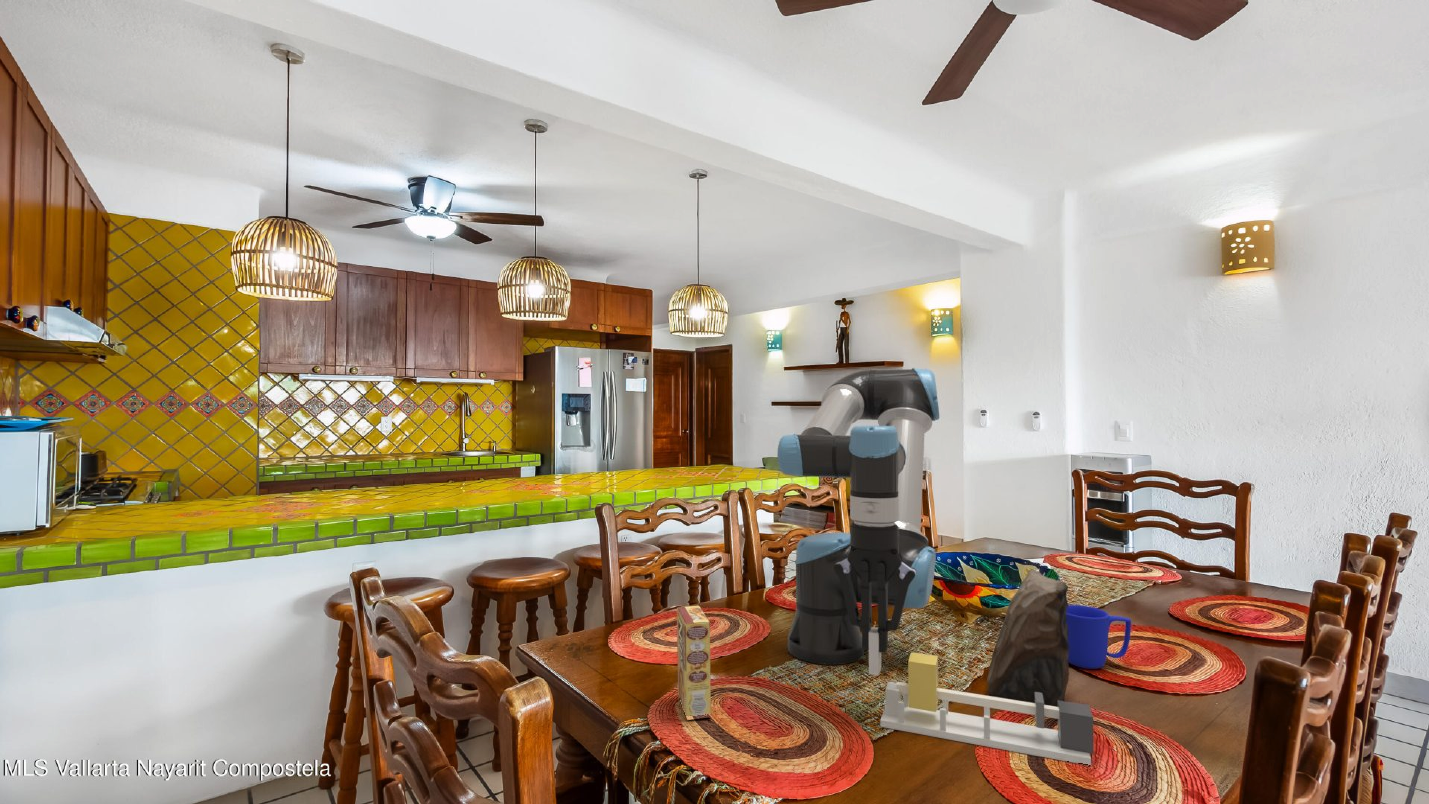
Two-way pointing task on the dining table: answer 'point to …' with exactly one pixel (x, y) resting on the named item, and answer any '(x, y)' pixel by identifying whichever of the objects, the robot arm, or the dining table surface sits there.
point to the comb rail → (997, 723)
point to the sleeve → (923, 681)
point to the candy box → (693, 660)
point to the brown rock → (1033, 644)
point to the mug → (1092, 636)
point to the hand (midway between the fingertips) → (875, 671)
